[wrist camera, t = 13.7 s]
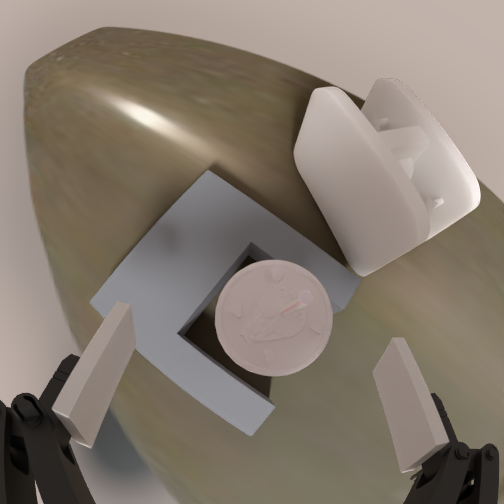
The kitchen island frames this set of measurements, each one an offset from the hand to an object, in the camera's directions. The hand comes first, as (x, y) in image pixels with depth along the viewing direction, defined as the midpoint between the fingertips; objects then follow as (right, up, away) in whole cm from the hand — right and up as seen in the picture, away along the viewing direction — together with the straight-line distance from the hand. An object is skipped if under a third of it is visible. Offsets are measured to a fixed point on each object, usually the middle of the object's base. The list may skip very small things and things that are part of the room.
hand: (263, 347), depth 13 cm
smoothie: (0, -2, +11) cm, 11 cm away
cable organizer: (+11, +10, +16) cm, 21 cm away
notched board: (-3, 0, +11) cm, 11 cm away
